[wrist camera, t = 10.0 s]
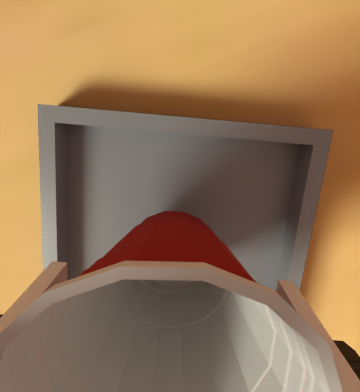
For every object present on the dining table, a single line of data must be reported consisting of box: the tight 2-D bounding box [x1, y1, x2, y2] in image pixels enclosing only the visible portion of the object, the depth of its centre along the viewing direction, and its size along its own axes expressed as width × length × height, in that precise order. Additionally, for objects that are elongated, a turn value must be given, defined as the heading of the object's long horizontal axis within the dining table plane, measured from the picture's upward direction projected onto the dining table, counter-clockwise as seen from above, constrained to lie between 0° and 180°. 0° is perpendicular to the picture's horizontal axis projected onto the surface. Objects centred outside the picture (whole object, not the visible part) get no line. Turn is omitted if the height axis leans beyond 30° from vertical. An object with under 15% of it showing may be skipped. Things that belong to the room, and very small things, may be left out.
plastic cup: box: [0, 211, 343, 392], centre depth 14 cm, size 11×11×12 cm
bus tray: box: [38, 104, 333, 291], centre depth 22 cm, size 18×18×3 cm
